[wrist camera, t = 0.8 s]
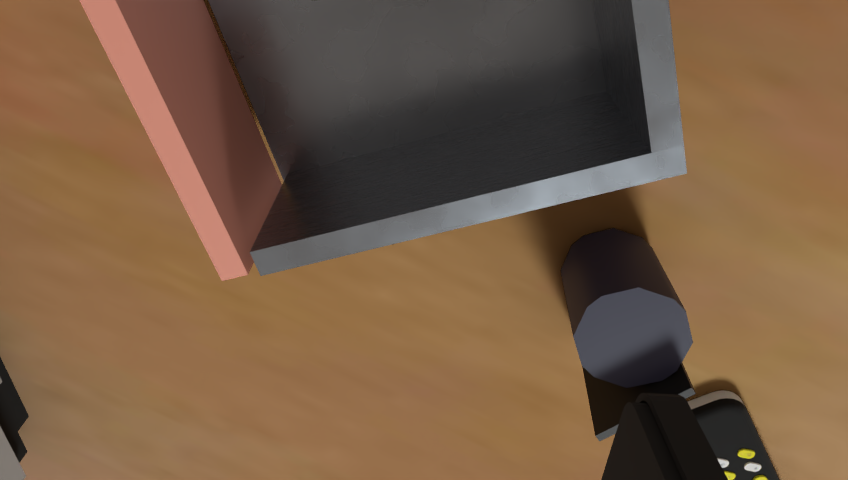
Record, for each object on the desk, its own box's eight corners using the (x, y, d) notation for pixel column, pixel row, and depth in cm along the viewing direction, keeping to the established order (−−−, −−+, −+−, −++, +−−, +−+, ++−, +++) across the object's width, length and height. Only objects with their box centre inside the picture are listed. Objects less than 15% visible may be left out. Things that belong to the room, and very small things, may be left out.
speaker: (668, 318, 42) (717, 428, 33) (576, 336, 44) (598, 448, 34) (648, 209, 40) (695, 296, 30) (550, 232, 41) (566, 322, 31)
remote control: (731, 379, 46) (742, 400, 44) (784, 494, 51) (797, 516, 49) (644, 412, 47) (651, 433, 46) (704, 520, 53) (713, 543, 51)
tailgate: (74, -306, 26) (-63, -368, 19) (285, 193, 36) (248, 274, 29) (46, -295, 26) (-100, -352, 19) (264, 198, 36) (221, 280, 29)
